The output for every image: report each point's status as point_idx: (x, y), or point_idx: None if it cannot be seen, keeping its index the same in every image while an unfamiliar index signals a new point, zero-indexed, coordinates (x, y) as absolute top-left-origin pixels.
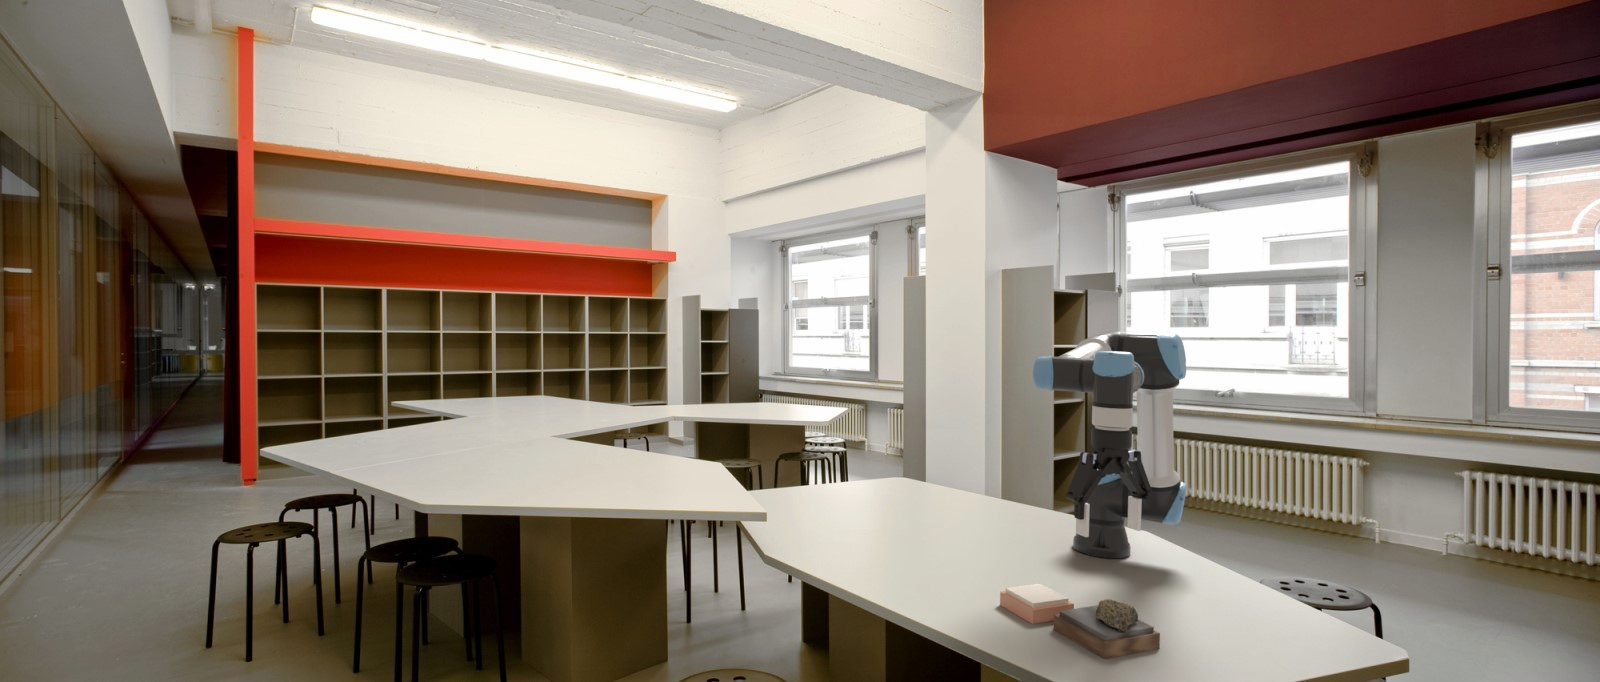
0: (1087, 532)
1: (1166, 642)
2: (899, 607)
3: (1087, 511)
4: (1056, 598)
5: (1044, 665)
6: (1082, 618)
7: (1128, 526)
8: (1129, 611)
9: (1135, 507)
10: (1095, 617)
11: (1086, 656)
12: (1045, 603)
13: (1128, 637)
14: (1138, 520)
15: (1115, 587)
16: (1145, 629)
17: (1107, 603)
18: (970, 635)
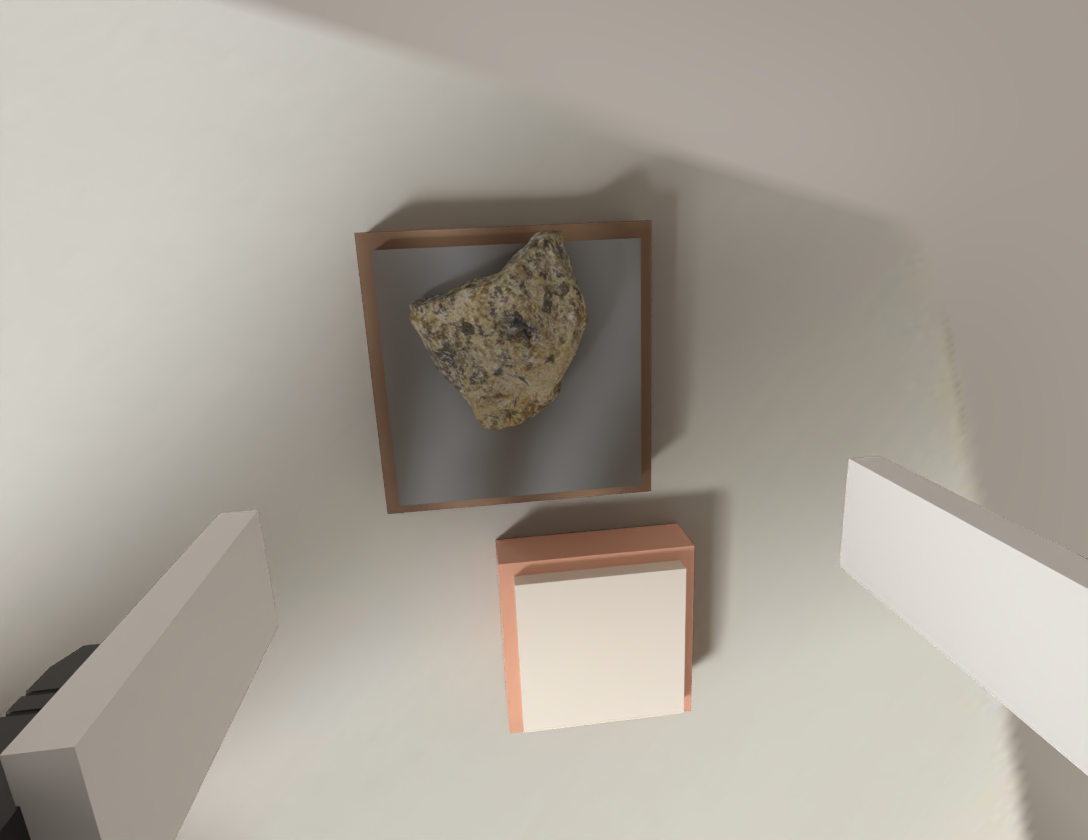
0: (885, 471)
1: (293, 270)
2: (982, 712)
3: (1072, 562)
4: (564, 593)
5: (861, 242)
6: (606, 403)
7: (274, 620)
8: (484, 282)
9: (166, 693)
10: None
11: (681, 258)
12: (627, 570)
13: (520, 236)
14: (214, 560)
15: None
16: (419, 248)
17: (563, 343)
18: None
